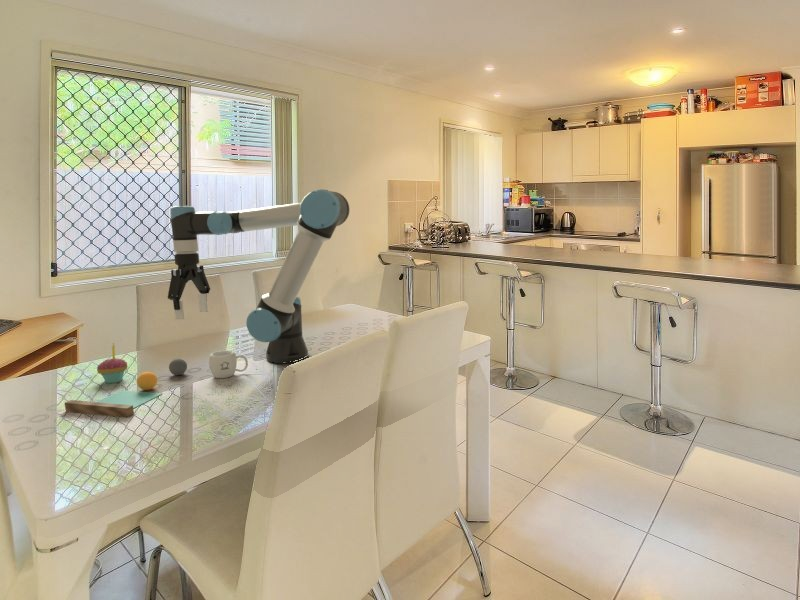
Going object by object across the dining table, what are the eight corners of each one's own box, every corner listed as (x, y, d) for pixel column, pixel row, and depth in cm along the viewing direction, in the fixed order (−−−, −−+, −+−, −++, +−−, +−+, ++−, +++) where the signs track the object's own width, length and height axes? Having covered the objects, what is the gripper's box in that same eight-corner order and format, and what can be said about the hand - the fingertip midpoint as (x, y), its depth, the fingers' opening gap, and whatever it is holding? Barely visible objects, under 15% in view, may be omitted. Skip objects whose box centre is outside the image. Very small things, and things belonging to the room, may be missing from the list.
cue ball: (191, 372, 162) (189, 357, 161) (180, 378, 157) (179, 361, 156) (177, 371, 163) (175, 356, 162) (165, 377, 158) (164, 360, 157)
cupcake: (107, 376, 159) (103, 341, 157) (134, 375, 160) (130, 340, 158) (93, 385, 151) (88, 348, 149) (121, 384, 151) (117, 347, 149)
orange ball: (162, 387, 149) (160, 369, 148) (149, 393, 143) (147, 375, 142) (147, 385, 150) (145, 368, 149) (133, 392, 145) (131, 374, 144)
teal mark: (162, 394, 143) (162, 393, 143) (125, 412, 129) (125, 412, 129) (122, 390, 146) (122, 390, 146) (82, 408, 132) (82, 408, 132)
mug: (210, 381, 153) (208, 358, 152) (210, 373, 161) (208, 351, 159) (249, 376, 157) (248, 353, 156) (247, 369, 165) (246, 347, 164)
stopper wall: (133, 414, 128) (132, 405, 128) (128, 417, 126) (127, 408, 126) (72, 408, 132) (71, 399, 132) (65, 411, 131) (64, 402, 130)
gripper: (199, 250, 175) (204, 308, 179) (150, 255, 152) (157, 322, 155) (217, 250, 173) (222, 309, 177) (171, 255, 150) (178, 323, 154)
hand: (192, 315), depth 166 cm, fingers open, 12 cm apart
